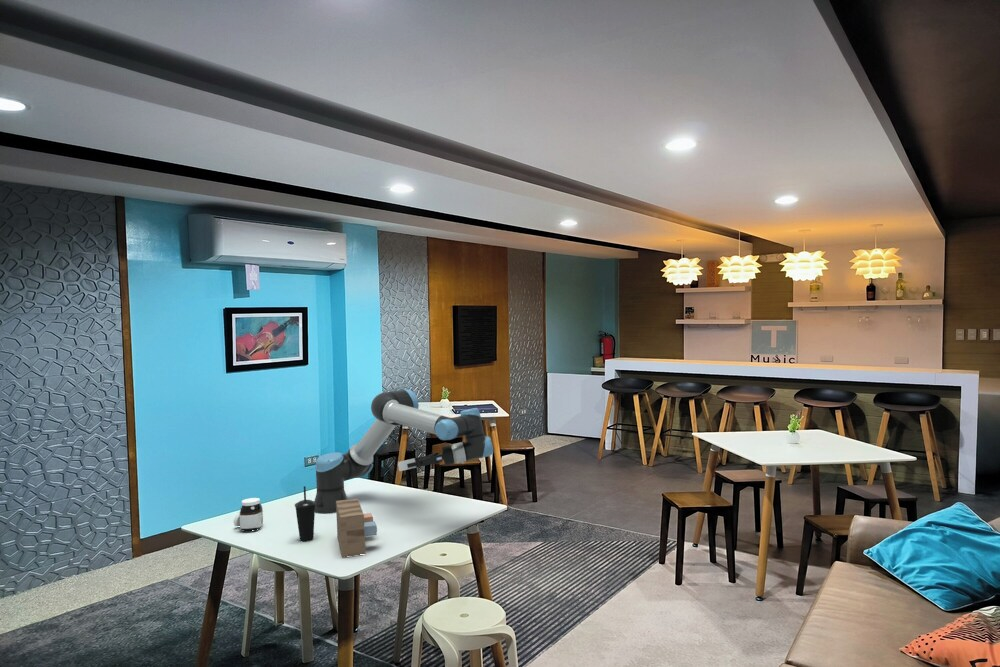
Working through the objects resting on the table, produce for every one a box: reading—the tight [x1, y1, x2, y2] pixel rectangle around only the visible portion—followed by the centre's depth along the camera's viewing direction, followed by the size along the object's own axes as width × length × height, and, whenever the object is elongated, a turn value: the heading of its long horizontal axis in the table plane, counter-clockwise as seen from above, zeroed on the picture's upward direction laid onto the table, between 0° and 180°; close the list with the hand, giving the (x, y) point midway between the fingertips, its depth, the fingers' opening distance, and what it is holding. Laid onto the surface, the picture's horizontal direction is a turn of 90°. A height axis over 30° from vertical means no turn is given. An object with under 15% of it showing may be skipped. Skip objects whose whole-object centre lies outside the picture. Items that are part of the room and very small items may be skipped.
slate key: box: [364, 520, 378, 538], centre depth 227 cm, size 5×6×4 cm
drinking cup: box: [294, 486, 316, 543], centre depth 239 cm, size 8×8×20 cm
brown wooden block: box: [335, 498, 366, 558], centre depth 230 cm, size 22×8×14 cm, turn 18°
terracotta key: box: [363, 512, 374, 523], centre depth 237 cm, size 5×6×4 cm
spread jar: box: [233, 497, 264, 532], centre depth 255 cm, size 12×11×12 cm
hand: (398, 466), depth 243 cm, fingers open, 13 cm apart
